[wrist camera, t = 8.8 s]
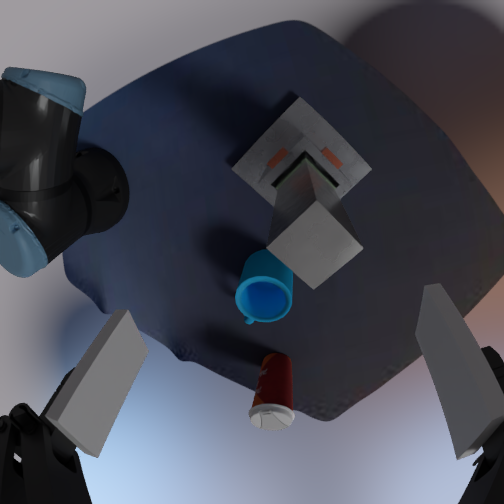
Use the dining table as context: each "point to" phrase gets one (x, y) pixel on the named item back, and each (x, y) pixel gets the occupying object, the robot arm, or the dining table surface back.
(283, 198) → the column
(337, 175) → the stand base
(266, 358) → the coffee cup
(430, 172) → the dining table surface
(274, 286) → the mug
